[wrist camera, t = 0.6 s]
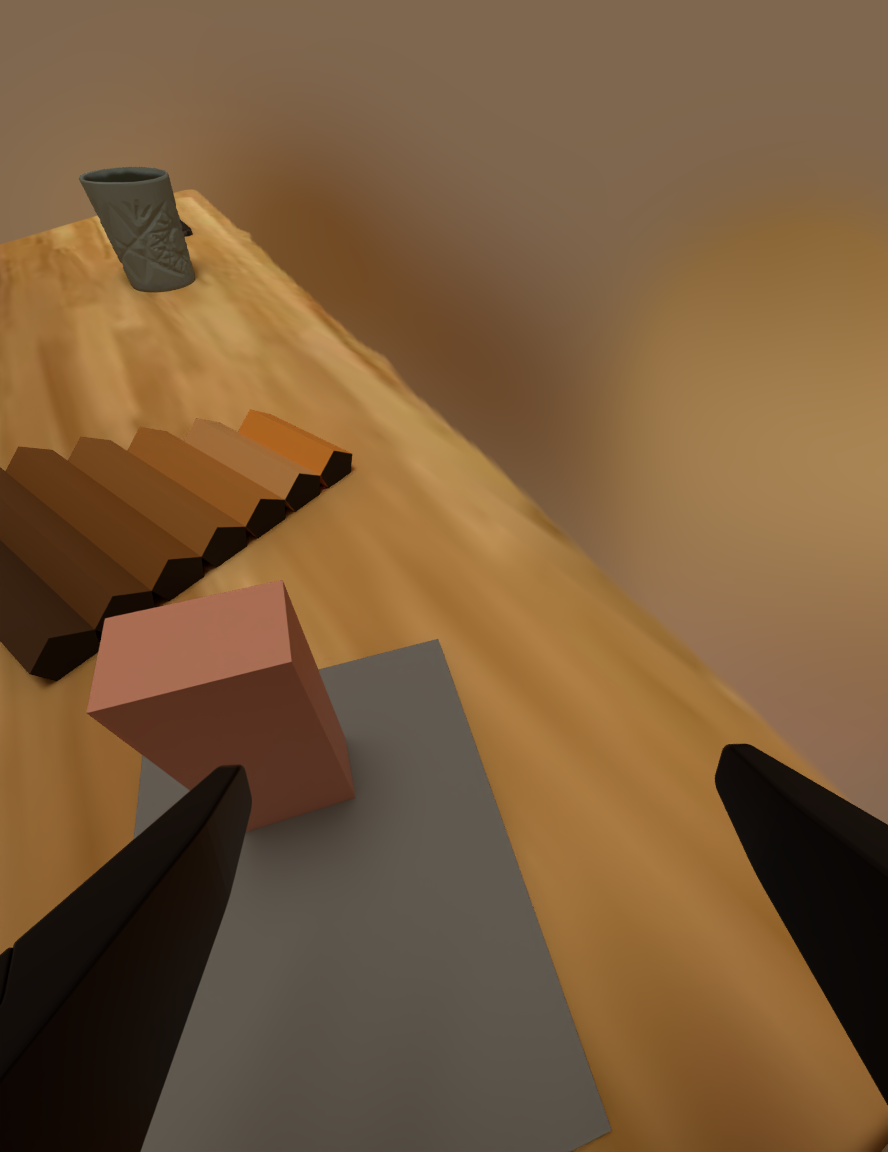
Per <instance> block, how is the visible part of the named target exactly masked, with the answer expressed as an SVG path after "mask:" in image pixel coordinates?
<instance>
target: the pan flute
mask: <svg viewBox="0 0 888 1152" xmlns="http://www.w3.org/2000/svg"><path fill="white" fill-rule="evenodd" d="M351 462H352V453H350V452H348V451H346V450H343V449H341V448H339V447H337V446H335V445H333V444H331V443H329V442H327V441H325V440H323V439H321V438H319V437H317V436H314V435H312V434H310V433H308V432H306V431H304V430H302V429H300V428H298V427H296V426H294V425H292V424H290V423H288V422H285V421H283V420H281V419H279V418H277V417H275V416H273V415H271V414H267V413H263V412H259V411H254V410H250V411H249V412H248V414H247V416H246V418H245V420H244V422H243V424H242V426H241V427H240V429H239V431H238V432H237V431H235V430H233V429H231V428H229V427H227V426H225V425H223V424H221V423H219V422H214V421H209V420H203V419H198V418H196V419H195V421H194V423H193V425H192V427H191V429H190V431H189V433H188V434H187V436H186V438H185V440H184V441H182V440H181V439H179V438H177V437H175V436H174V435H172V434H170V433H168V432H167V431H161V430H155V429H148V428H142V427H140V428H139V430H138V432H137V433H136V435H135V437H134V439H133V441H132V443H131V445H130V447H129V448H128V450H127V451H126V450H125V449H123V448H122V447H120V446H119V445H117V444H116V443H114V442H112V441H111V440H103V439H95V438H87V437H80V439H79V441H78V443H77V444H76V446H75V448H74V450H73V452H72V454H71V456H70V458H69V460H68V461H67V460H66V459H64V458H63V457H62V456H60V455H59V454H57V453H56V452H55V451H53V450H47V449H37V448H27V447H18V448H17V450H16V452H15V454H14V456H13V458H12V460H11V462H10V464H9V466H8V468H7V469H6V471H4V470H3V469H2V468H0V641H1V642H2V643H3V645H4V646H5V647H6V648H7V649H8V650H9V651H10V652H11V654H12V655H13V656H14V657H15V658H16V659H17V660H18V661H19V663H20V664H21V665H22V666H23V667H24V668H25V669H26V671H27V672H28V673H29V674H31V675H35V676H39V677H43V678H47V679H51V680H55V681H58V680H59V679H61V678H62V677H64V676H65V675H66V674H68V673H69V672H71V671H72V670H74V669H75V668H76V667H78V666H79V665H81V664H82V663H83V662H85V661H86V660H88V659H89V658H90V657H92V656H93V655H95V654H96V653H97V652H99V647H100V645H99V642H98V638H97V635H96V632H95V630H97V631H100V632H102V631H103V626H104V621H105V618H110V617H114V616H119V615H123V614H128V613H133V612H137V611H142V610H146V609H151V608H155V605H154V601H153V596H152V591H153V592H155V593H156V594H158V595H160V596H162V597H164V598H165V599H167V600H169V601H171V600H172V599H173V598H175V597H176V596H178V595H179V594H180V593H182V592H183V591H185V590H186V589H187V588H189V587H190V586H192V585H193V584H194V583H196V582H197V581H199V580H200V579H202V578H203V577H204V574H203V566H202V558H203V559H205V560H206V561H208V562H209V563H210V564H212V565H213V566H215V567H216V568H217V567H218V566H220V565H221V564H223V563H224V562H225V561H227V560H228V559H230V558H231V557H232V556H234V555H235V554H237V553H238V552H239V551H241V550H242V549H244V548H245V547H247V543H246V531H247V532H249V533H250V534H252V535H254V536H255V537H257V538H259V537H261V536H262V535H263V534H265V533H266V532H268V531H269V530H270V529H272V528H273V527H275V526H276V525H277V524H279V523H280V522H282V521H283V520H284V519H285V506H286V507H288V508H289V509H291V510H293V511H294V512H296V511H297V510H299V509H300V508H301V507H303V506H304V505H306V504H307V503H308V502H310V501H311V500H313V499H314V498H315V497H317V496H318V495H319V494H320V484H322V485H324V486H326V487H328V488H329V487H331V486H332V485H334V484H335V483H337V482H338V481H339V480H341V479H342V478H344V477H345V476H346V475H348V474H349V473H351ZM201 557H202V558H201Z"/></svg>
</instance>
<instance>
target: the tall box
mask: <svg viewBox="0 0 888 1152" xmlns="http://www.w3.org/2000/svg"><path fill="white" fill-rule="evenodd" d="M87 714H89V715H90V716H91V717H93V718H94V719H95V720H97V721H98V722H99V723H101V724H102V725H103V726H105V727H106V728H107V729H109V730H110V731H111V732H113V733H114V734H115V735H117V736H118V737H119V738H121V739H122V740H123V741H125V742H126V743H127V744H129V745H130V746H131V747H133V748H134V749H135V750H137V751H138V752H139V753H141V754H142V755H143V756H144V757H146V758H147V759H148V760H150V761H151V762H152V763H154V764H155V765H156V766H158V767H159V768H160V769H162V770H163V771H164V772H166V773H167V774H168V775H170V776H171V777H172V778H174V779H175V780H176V781H178V782H179V783H180V784H182V785H183V786H184V787H186V788H187V789H188V790H191V789H193V788H194V787H195V786H196V785H197V784H198V783H200V782H201V781H202V780H203V779H204V778H205V777H206V776H208V775H209V774H210V773H211V772H212V771H213V770H215V769H216V768H217V767H219V766H221V765H236V764H240V765H242V766H243V767H244V768H245V771H246V774H247V779H248V783H249V787H250V791H251V796H252V808H251V813H250V817H249V821H248V825H247V829H246V832H248V831H251V830H254V829H257V828H260V827H264V826H267V825H270V824H273V823H276V822H280V821H283V820H286V819H289V818H292V817H295V816H299V815H302V814H305V813H308V812H311V811H315V810H318V809H321V808H324V807H327V806H330V805H334V804H337V803H340V802H343V801H346V800H350V799H353V798H356V797H355V791H354V785H353V780H352V774H351V768H350V762H349V757H348V751H347V745H346V739H345V736H344V733H343V731H342V728H341V726H340V723H339V721H338V718H337V716H336V713H335V711H334V708H333V706H332V703H331V701H330V698H329V696H328V693H327V691H326V688H325V686H324V683H323V681H322V678H321V676H320V673H319V670H318V668H317V665H316V663H315V660H314V658H313V655H312V653H311V650H310V648H309V645H308V643H307V640H306V638H305V635H304V633H303V630H302V628H301V625H300V623H299V620H298V618H297V615H296V613H295V610H294V608H293V605H292V603H291V600H290V597H289V595H288V592H287V590H286V587H285V585H284V582H283V580H280V581H275V582H271V583H266V584H261V585H257V586H252V587H248V588H243V589H238V590H234V591H229V592H225V593H220V594H215V595H211V596H206V597H202V598H197V599H192V600H188V601H183V602H179V603H174V604H169V605H165V606H160V607H156V608H151V609H146V610H142V611H137V612H133V613H128V614H123V615H119V616H114V617H110V618H105V621H104V626H103V631H102V636H101V642H100V647H99V652H98V657H97V662H96V667H95V672H94V678H93V683H92V688H91V693H90V698H89V703H88V708H87Z"/></svg>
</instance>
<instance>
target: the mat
mask: <svg viewBox="0 0 888 1152" xmlns="http://www.w3.org/2000/svg"><path fill="white" fill-rule="evenodd" d="M319 673H320V676H321V678H322V681H323V683H324V686H325V688H326V691H327V693H328V696H329V698H330V701H331V703H332V706H333V708H334V711H335V713H336V716H337V718H338V721H339V723H340V726H341V728H342V731H343V733H344V736H345V739H346V745H347V751H348V757H349V762H350V768H351V774H352V780H353V785H354V791H355V797H356V798H353V799H350V800H346V801H343V802H340V803H337V804H334V805H330V806H327V807H324V808H321V809H318V810H315V811H311V812H308V813H305V814H302V815H299V816H295V817H292V818H289V819H286V820H283V821H280V822H276V823H273V824H270V825H267V826H264V827H260V828H257V829H254V830H251V831H248V832H246V833H245V838H244V842H243V846H242V850H241V854H240V858H239V862H238V866H237V870H236V874H235V879H234V883H233V886H232V890H231V894H230V898H229V901H228V904H227V907H226V910H225V913H224V916H223V919H222V922H221V925H220V928H219V930H218V933H217V936H216V939H215V942H214V945H213V947H212V950H211V953H210V956H209V959H208V962H207V965H206V967H205V970H204V973H203V976H202V979H201V982H200V984H199V987H198V990H197V993H196V996H195V999H194V1002H193V1004H192V1007H191V1010H190V1013H189V1016H188V1019H187V1021H186V1024H185V1027H184V1030H183V1033H182V1036H181V1039H180V1041H179V1044H178V1047H177V1050H176V1053H175V1056H174V1058H173V1061H172V1064H171V1067H170V1070H169V1073H168V1075H167V1078H166V1081H165V1084H164V1087H163V1090H162V1093H161V1095H160V1098H159V1101H158V1104H157V1107H156V1110H155V1112H154V1115H153V1118H152V1121H151V1124H150V1127H149V1130H148V1132H147V1135H146V1138H145V1141H144V1144H143V1147H142V1149H141V1152H570V1151H572V1150H574V1149H576V1148H578V1147H580V1146H582V1145H584V1144H586V1143H588V1142H590V1141H592V1140H594V1139H596V1138H598V1137H600V1136H602V1135H604V1134H606V1133H608V1132H610V1131H612V1130H611V1127H610V1124H609V1121H608V1118H607V1116H606V1113H605V1110H604V1107H603V1104H602V1101H601V1099H600V1096H599V1093H598V1090H597V1087H596V1084H595V1082H594V1079H593V1076H592V1073H591V1070H590V1067H589V1065H588V1062H587V1059H586V1056H585V1053H584V1050H583V1048H582V1045H581V1042H580V1039H579V1036H578V1033H577V1031H576V1028H575V1025H574V1022H573V1019H572V1016H571V1014H570V1011H569V1008H568V1005H567V1002H566V1000H565V997H564V994H563V991H562V988H561V985H560V983H559V980H558V977H557V974H556V971H555V968H554V966H553V963H552V960H551V957H550V954H549V951H548V949H547V946H546V943H545V940H544V937H543V934H542V932H541V929H540V926H539V923H538V920H537V917H536V915H535V912H534V909H533V906H532V903H531V900H530V898H529V895H528V892H527V889H526V886H525V883H524V881H523V878H522V875H521V872H520V869H519V866H518V864H517V861H516V858H515V855H514V852H513V850H512V847H511V844H510V841H509V838H508V835H507V833H506V830H505V827H504V824H503V821H502V818H501V816H500V813H499V810H498V807H497V804H496V801H495V799H494V796H493V793H492V790H491V787H490V784H489V782H488V779H487V776H486V773H485V770H484V767H483V765H482V762H481V759H480V756H479V753H478V750H477V748H476V745H475V742H474V739H473V736H472V733H471V731H470V728H469V725H468V722H467V719H466V717H465V714H464V711H463V708H462V705H461V702H460V700H459V697H458V694H457V691H456V688H455V685H454V683H453V680H452V677H451V674H450V671H449V668H448V666H447V663H446V660H445V657H444V654H443V651H442V649H441V646H440V643H439V640H438V639H436V640H432V641H428V642H424V643H420V644H416V645H412V646H409V647H405V648H401V649H397V650H393V651H389V652H385V653H381V654H377V655H374V656H370V657H366V658H362V659H358V660H354V661H350V662H346V663H343V664H339V665H335V666H331V667H327V668H323V669H319ZM189 791H190V790H188V789H187V788H186V787H184V786H183V785H182V784H180V783H179V782H178V781H176V780H175V779H174V778H172V777H171V776H170V775H168V774H167V773H166V772H164V771H163V770H162V769H160V768H159V767H158V766H156V765H155V764H154V763H152V762H151V761H150V760H148V759H147V758H146V757H144V756H142V765H141V775H140V784H139V794H138V803H137V812H136V822H135V831H134V839H135V838H136V837H137V836H138V835H139V834H141V833H142V832H143V831H144V830H145V829H146V828H148V827H149V826H150V825H151V824H152V823H153V822H154V821H156V820H157V819H158V818H159V817H160V816H161V815H163V814H164V813H165V812H166V811H167V810H168V809H169V808H171V807H172V806H173V805H174V804H175V803H176V802H178V801H179V800H180V799H181V798H182V797H183V796H184V795H186V794H187V793H188V792H189Z"/></svg>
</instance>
